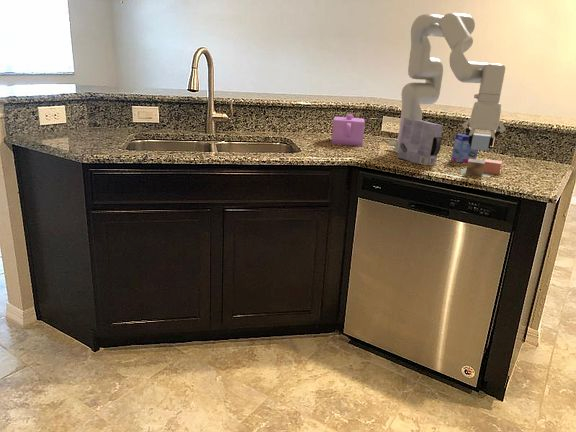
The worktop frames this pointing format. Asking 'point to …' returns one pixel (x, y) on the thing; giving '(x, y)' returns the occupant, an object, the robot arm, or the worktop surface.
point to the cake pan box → (420, 141)
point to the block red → (492, 166)
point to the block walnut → (475, 167)
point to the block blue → (480, 141)
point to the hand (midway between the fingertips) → (479, 146)
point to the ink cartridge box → (463, 149)
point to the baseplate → (475, 175)
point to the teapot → (348, 130)
